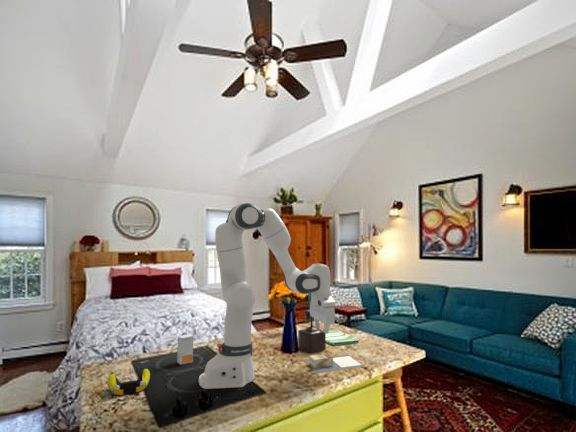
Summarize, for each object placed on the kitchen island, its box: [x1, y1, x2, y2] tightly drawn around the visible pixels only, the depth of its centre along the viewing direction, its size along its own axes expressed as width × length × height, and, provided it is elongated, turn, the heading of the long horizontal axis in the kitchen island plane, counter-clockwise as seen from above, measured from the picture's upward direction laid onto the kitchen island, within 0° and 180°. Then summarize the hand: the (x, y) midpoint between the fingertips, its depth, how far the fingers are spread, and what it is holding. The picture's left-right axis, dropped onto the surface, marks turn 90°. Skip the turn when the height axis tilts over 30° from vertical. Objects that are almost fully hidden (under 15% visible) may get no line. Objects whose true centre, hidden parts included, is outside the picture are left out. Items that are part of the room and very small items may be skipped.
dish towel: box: [326, 328, 360, 346], centre depth 198 cm, size 18×23×3 cm
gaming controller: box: [106, 368, 151, 396], centre depth 133 cm, size 15×6×10 cm
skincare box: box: [176, 333, 194, 366], centre depth 162 cm, size 6×4×12 cm
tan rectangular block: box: [309, 352, 333, 368], centre depth 157 cm, size 9×6×4 cm, turn 108°
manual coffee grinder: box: [297, 309, 327, 354], centre depth 182 cm, size 16×11×18 cm
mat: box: [303, 354, 366, 374], centre depth 159 cm, size 23×16×1 cm
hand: (321, 330), depth 158 cm, fingers open, 8 cm apart
